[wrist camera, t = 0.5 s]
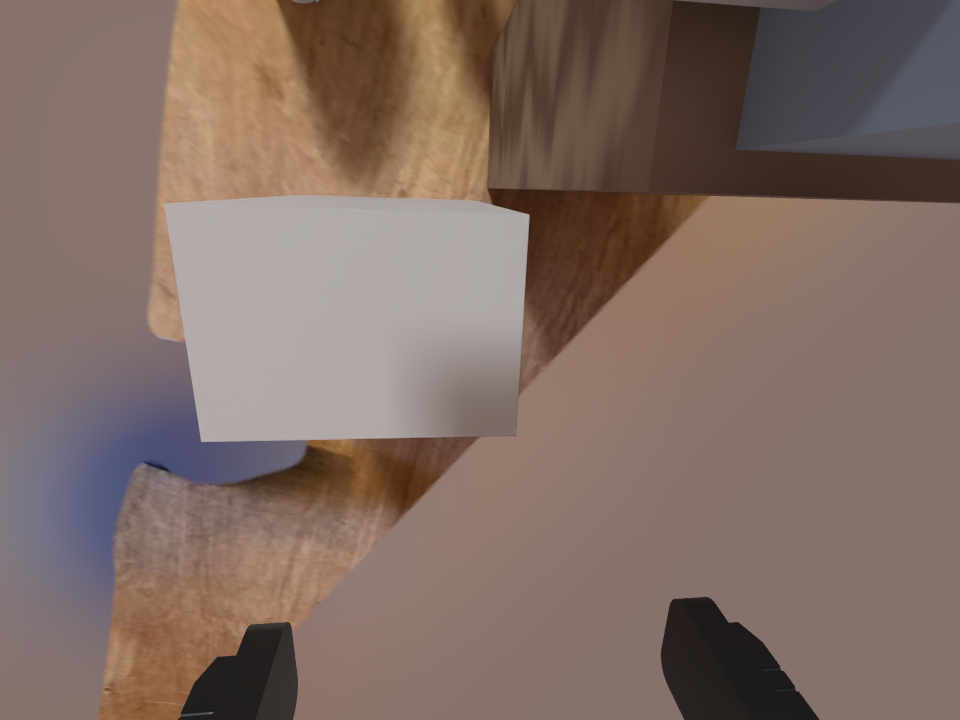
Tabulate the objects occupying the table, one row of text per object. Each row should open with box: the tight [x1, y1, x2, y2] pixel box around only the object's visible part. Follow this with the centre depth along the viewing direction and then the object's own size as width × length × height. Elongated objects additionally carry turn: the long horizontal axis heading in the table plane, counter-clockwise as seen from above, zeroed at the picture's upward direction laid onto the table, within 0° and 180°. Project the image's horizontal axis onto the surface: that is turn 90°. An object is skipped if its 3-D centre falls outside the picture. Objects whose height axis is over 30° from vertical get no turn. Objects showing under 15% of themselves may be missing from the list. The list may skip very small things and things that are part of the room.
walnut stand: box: [487, 0, 960, 203], centre depth 26 cm, size 10×12×32 cm
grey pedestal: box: [164, 195, 529, 442], centre depth 32 cm, size 10×14×23 cm
